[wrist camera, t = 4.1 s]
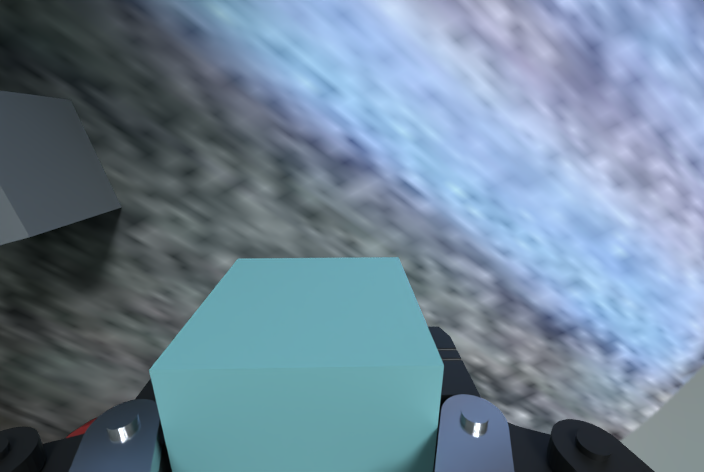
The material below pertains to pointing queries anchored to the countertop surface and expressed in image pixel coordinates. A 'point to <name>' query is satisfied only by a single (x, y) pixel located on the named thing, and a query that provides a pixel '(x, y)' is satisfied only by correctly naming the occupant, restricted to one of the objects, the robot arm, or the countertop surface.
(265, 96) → the countertop surface
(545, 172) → the countertop surface
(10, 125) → the slate block
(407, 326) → the teal block
